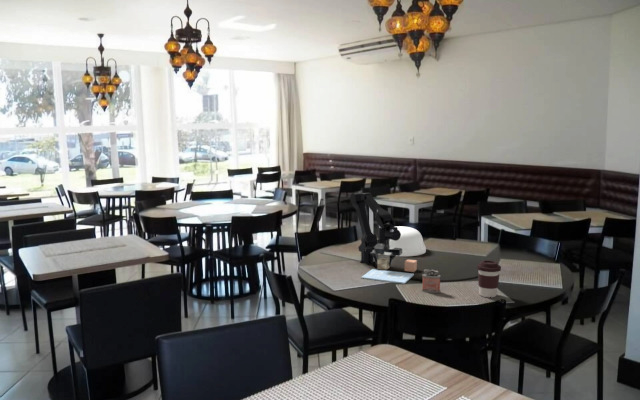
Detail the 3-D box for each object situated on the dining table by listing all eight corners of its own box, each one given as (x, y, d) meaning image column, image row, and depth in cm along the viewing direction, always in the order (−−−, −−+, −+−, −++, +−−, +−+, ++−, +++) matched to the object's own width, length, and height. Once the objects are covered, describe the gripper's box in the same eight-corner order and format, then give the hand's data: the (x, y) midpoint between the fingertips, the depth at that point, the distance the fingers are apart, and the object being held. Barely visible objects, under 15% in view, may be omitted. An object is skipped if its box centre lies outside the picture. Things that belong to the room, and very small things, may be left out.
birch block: (377, 268, 273) (377, 259, 273) (380, 266, 278) (380, 257, 277) (386, 270, 271) (386, 260, 270) (389, 267, 276) (389, 258, 275)
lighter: (440, 291, 236) (441, 269, 235) (439, 293, 233) (440, 271, 231) (422, 289, 239) (423, 268, 237) (421, 291, 235) (421, 270, 234)
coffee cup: (472, 292, 234) (473, 259, 232) (494, 291, 235) (495, 258, 233) (481, 299, 224) (482, 265, 222) (503, 298, 225) (505, 264, 223)
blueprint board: (361, 278, 256) (361, 276, 256) (372, 270, 271) (372, 268, 271) (404, 283, 247) (404, 282, 247) (413, 275, 261) (414, 273, 261)
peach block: (404, 271, 269) (404, 261, 268) (407, 268, 273) (407, 259, 273) (414, 272, 267) (414, 262, 266) (416, 269, 271) (416, 260, 271)
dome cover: (404, 242, 334) (405, 221, 332) (437, 252, 309) (438, 228, 307) (364, 249, 318) (364, 226, 316) (395, 259, 293) (395, 234, 291)
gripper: (361, 238, 269) (361, 268, 271) (396, 241, 261) (396, 272, 263) (369, 234, 279) (368, 262, 281) (402, 237, 271) (402, 266, 273)
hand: (383, 266), depth 274 cm, fingers open, 7 cm apart
